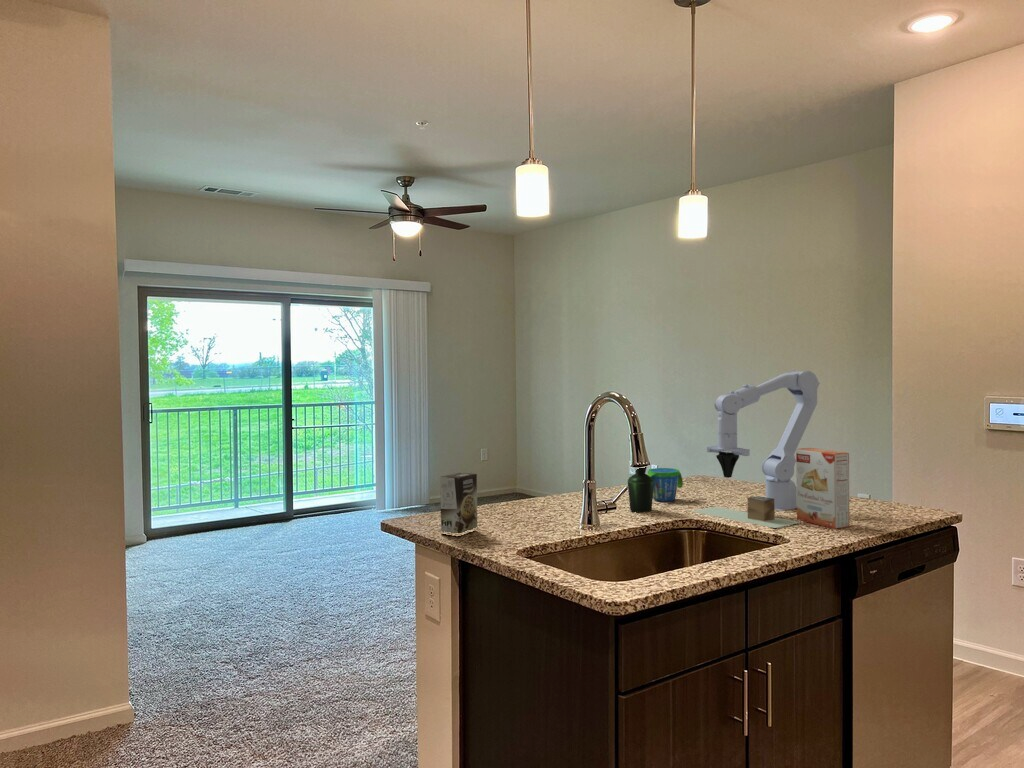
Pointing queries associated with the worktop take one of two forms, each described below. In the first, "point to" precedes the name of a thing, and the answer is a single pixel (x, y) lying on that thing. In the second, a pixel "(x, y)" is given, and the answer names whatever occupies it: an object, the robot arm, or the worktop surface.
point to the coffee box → (458, 502)
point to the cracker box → (823, 487)
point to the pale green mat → (744, 517)
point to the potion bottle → (640, 491)
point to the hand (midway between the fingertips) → (727, 477)
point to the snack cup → (665, 483)
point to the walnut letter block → (761, 508)
